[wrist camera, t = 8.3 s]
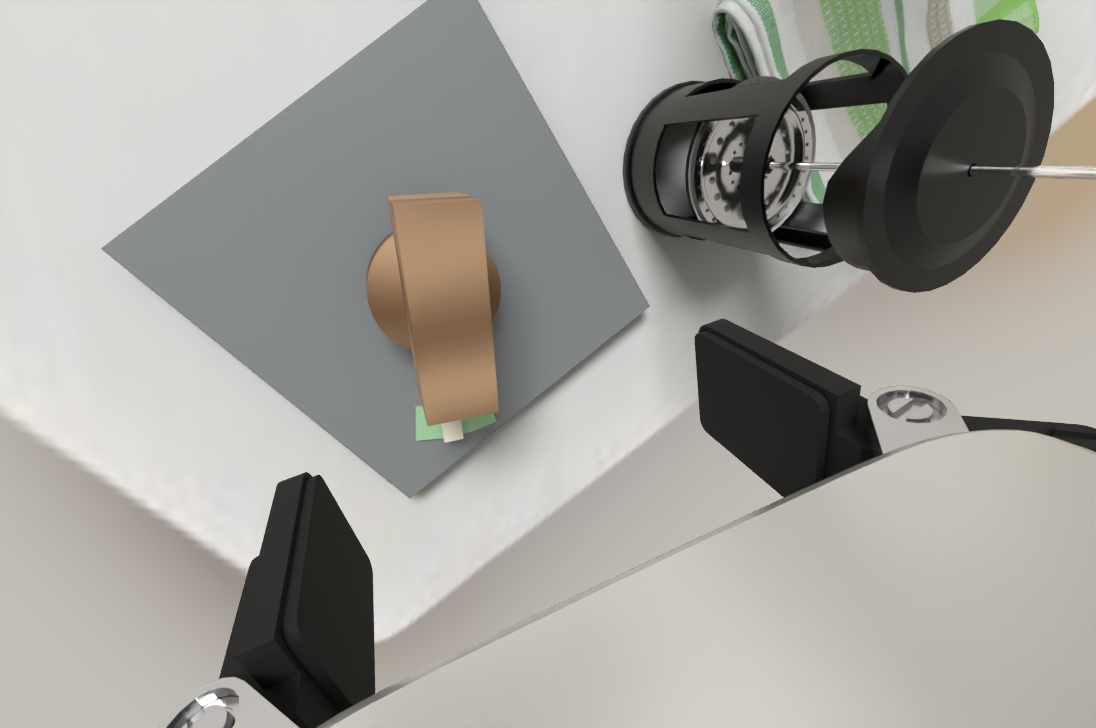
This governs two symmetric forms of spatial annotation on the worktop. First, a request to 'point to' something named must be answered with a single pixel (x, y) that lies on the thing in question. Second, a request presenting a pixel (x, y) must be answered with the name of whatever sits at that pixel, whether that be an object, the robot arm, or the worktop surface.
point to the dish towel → (844, 49)
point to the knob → (440, 303)
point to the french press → (864, 157)
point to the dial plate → (364, 222)
